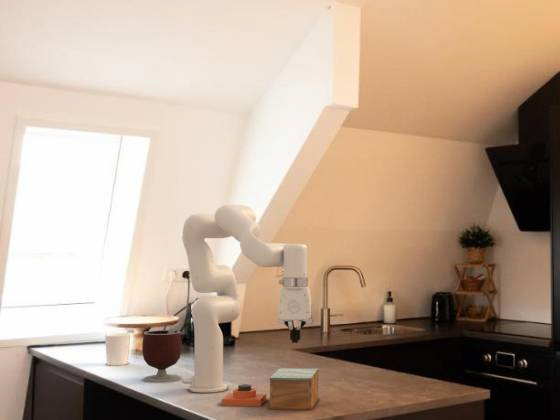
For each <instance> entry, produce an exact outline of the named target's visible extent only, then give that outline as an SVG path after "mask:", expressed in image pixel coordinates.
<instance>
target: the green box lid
mask: <svg viewBox="0 0 560 420" xmlns="http://www.w3.org/2000/svg"><path fill="white" fill-rule="evenodd" d="M317 372H318V373H319V368H293V367H291V368H290V367H289V368H283V367H282V368H281V367H280V368H278V369H277V370H276V371H275V372H274V373H273V374H272V375H271V376H270V377H269V381H270V380H284V381H311V380H312V379H313V378H314V376H315V375H316V374H317Z"/></svg>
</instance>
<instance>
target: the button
mask: <svg viewBox="0 0 560 420" xmlns="http://www.w3.org/2000/svg"><path fill="white" fill-rule="evenodd" d="M251 388H252V385H251V384H247V383H246V384H239V385H238V386H237V389H238V391H251Z"/></svg>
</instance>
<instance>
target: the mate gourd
mask: <svg viewBox="0 0 560 420" xmlns="http://www.w3.org/2000/svg"><path fill="white" fill-rule="evenodd" d="M181 324H182V323H181V322H180V321H179V322H177V323H176V324H173V325H172V326H171V327H170V328H169V329H161V330H160V329H159V330H148V331H143V337H142V343H141V345H142V346H141V347H142V348H141V351H142V357H143V360H144V362H145V363H146V364H147V366H149V367H152V368H154V369H156V370H157V372H156V374H152V375H147V376H144V377H143V381H144V382H147V383H167V382H174V381H175V382H176V381H177V380H180V376H179V375H177V374H169V373H168V372H167V369H169V368H170V367H172V366H174V365H176V364H177V363H178V361H179V360H180V357H181V356H182V355H181V354H182V350H183V349H182V348H183V347H182V346H183V342H182V336H181V335H182V334H181V331H180V330H177V328H178V326H179V325H181Z"/></svg>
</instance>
